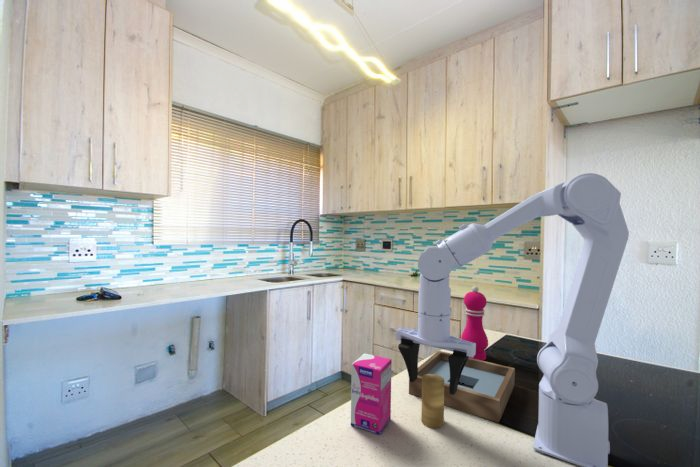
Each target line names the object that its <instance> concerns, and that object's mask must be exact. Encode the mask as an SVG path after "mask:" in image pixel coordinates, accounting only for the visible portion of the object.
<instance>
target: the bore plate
mask: <svg viewBox="0 0 700 467" xmlns="http://www.w3.org/2000/svg"><path fill="white" fill-rule="evenodd" d="M426 374H436V375H439V376H441V377H443V378H444V383H446V384H450V368H449V362H445V361H440V362H438V363H437V364H436V365H435V366H434V367H433V368H432V369H431V370H430V371H429V372H428V373H426ZM504 378H505V376H502V375H498V374H494V373H490V372H486V371H482V370H478V369H474V368H470V367H466V366H464V368H463V371H462V373H461V376H460V379H459V382H460V383H459V384H458V387H460V388H464V389H467V390H471V391H474V392H478V393H481V394H485V395H488V396H492V397H495V395H496V393H497V391H498V389H499V387H500V385H501V384H502V382H503V380H504ZM462 383H464V384H463V385H461V384H462ZM465 385H466V386H465ZM467 386H470V387H467ZM471 387H472V388H471Z"/></svg>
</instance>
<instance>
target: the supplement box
mask: <svg viewBox="0 0 700 467" xmlns="http://www.w3.org/2000/svg"><path fill="white" fill-rule="evenodd" d="M392 361H393V360H392V359H391V358H387V357H383V356H378V355H374V354H370V353H363V354H362V355H361V356H359V357H358V358H357V359H356V360H355V361H353V362H352V363H351V378H350V379H351V384H350V385H351V387H350V393H351V394H350V426H352V427H356V428H359V429H362V430H365V431H368V432H370V433H374V434H375V435H380V434H381V433H382V432H383V430H384V429H385V428H386V426H387V424H388V423H389V422H390V420H391V417H392V415H391V413H392V410H391V409H392V401H391V400H392V363H393V362H392Z"/></svg>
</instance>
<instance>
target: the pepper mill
mask: <svg viewBox="0 0 700 467" xmlns="http://www.w3.org/2000/svg"><path fill="white" fill-rule="evenodd" d="M487 303H488V302H487V298H486V296H485V294H483V293H482V292H479V287H478V286H477V285H476V286H472V288H471V291H469V292H467V293H466V294H465V295H464V297H463V304H464V305H465V306H466V308H465V312H464V313H465V314H466V318H467V319H466V324H465V327H464V329H463V331H462V333H461V336H460V339H462V340H465V341H468V342H472V343H476V354H475V355H474V356H473V357H469V358H473V359H477V360H481V361H485V360H486V359H487V352H486V351H485V350H486V349H487V348H488V347H489V339H488V336H487V333H486V331H485V329H484V326H483V318H484V317H483V316H485V309H484V308H485V307H486V306H487Z"/></svg>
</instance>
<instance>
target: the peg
mask: <svg viewBox="0 0 700 467" xmlns="http://www.w3.org/2000/svg"><path fill="white" fill-rule="evenodd" d="M444 413H445V405H444V378H443V377H441V376H439V375H436V374H425V375H423V376H422V398H421V419H420V420H421V423H422V424H423V425H424V426H426V427H427V428H430V429H440V428H443V426H444V424H445V423H444V422H445V414H444Z"/></svg>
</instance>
